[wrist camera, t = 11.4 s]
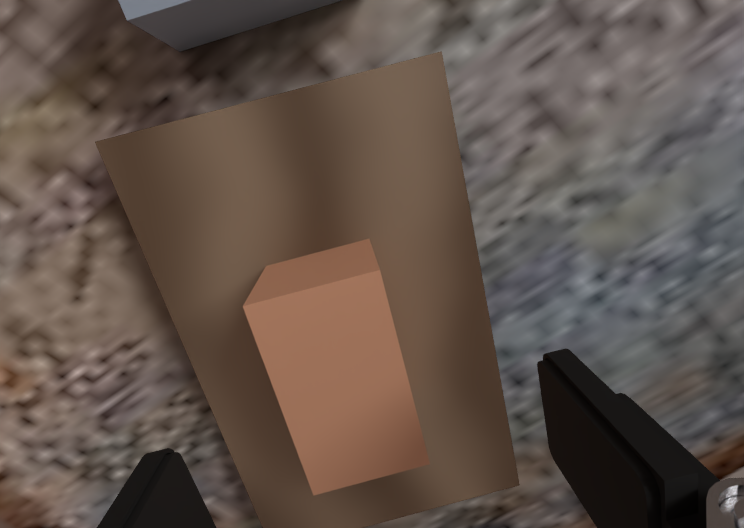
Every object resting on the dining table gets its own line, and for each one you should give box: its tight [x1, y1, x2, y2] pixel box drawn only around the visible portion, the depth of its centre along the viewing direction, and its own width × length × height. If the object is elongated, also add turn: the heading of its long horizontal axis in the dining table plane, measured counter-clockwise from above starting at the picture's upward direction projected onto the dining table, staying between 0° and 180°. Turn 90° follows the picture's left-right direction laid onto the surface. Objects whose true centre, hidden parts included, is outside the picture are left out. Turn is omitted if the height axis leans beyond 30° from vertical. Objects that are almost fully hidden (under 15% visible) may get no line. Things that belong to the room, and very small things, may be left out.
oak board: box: [95, 51, 519, 528], centre depth 17 cm, size 12×19×2 cm, turn 14°
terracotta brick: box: [243, 239, 430, 496], centre depth 14 cm, size 7×4×4 cm, turn 15°
